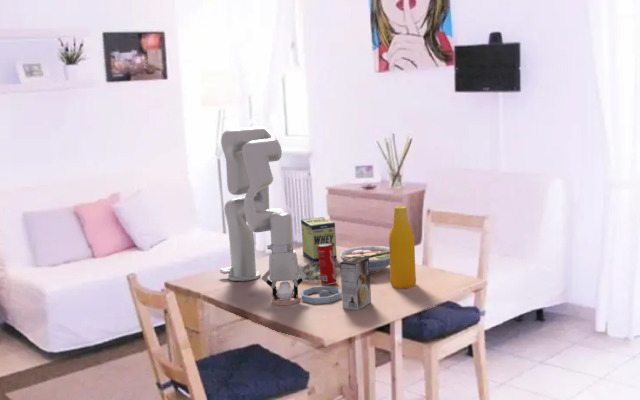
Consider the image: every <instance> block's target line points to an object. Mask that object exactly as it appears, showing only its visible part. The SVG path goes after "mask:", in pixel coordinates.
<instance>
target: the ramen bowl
mask: <svg viewBox="0 0 640 400" xmlns="http://www.w3.org/2000/svg"><path fill="white" fill-rule="evenodd" d="M339 256H340V258H341V260H342V261H344V260H346V259H348V258H350V257H353V256H357V257H369V271H370V274H374V273H378V272H379V271H381V270H384V269H386V268H387V267H390V252H389V247H388V246H384V245H380V246H379V245H365V246H364V245H363V246H356V247H351V248H347V249H343V250H342V251H341V252H339Z"/></svg>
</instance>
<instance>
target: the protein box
mask: <svg viewBox="0 0 640 400" xmlns="http://www.w3.org/2000/svg"><path fill="white" fill-rule="evenodd" d="M300 224H301V227H300V228H301V243H302V254H303V256H305V257H307V259H309V260H311V261H312V262H313V263H316V262H319V258H318V245H319V244H323V243H331V244H332V247H333V254H334V260H337V259H338V258H337V238H336V236H337V235H336V223H335V221H332V220H330V219H328V218H327V217H324V216H321V217H313V218H305V219H304V218H303V219H300Z"/></svg>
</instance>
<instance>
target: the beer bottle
mask: <svg viewBox="0 0 640 400" xmlns="http://www.w3.org/2000/svg"><path fill="white" fill-rule="evenodd" d="M393 212H394V213H393V224H392V226H391V229H390V232H389V235H388V246H389V252H390V265H389V270H390V271H389V273H390V277H389V278H390V280H389V281H390V282H389V283H390V285H391V286H392V288H395V289H410V288H413V287H415V286H416V284H417V282H416V281H417V278H416V277H417V275H416V257H415V256H416V252H415V234H414V231H413V229H412V228H411V225H410V222H409V216H408V209H407V206H405V205H397V206H394V210H393Z"/></svg>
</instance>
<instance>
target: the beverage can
mask: <svg viewBox="0 0 640 400" xmlns="http://www.w3.org/2000/svg"><path fill="white" fill-rule="evenodd" d="M318 258H319V261H318V265H319V273H320V280H321V281H320V283H321V284H322V285H323V286H330V285H334V284H336V283H337V273H336V264H335V259H334V254H333V247H332V244H331V243H323V244H319V245H318Z"/></svg>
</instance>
